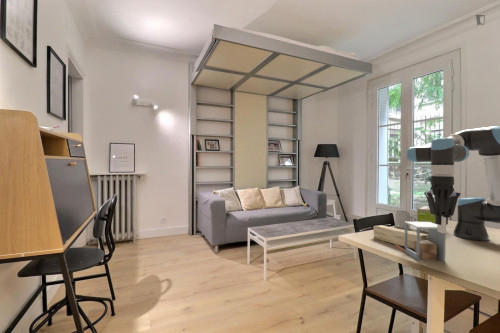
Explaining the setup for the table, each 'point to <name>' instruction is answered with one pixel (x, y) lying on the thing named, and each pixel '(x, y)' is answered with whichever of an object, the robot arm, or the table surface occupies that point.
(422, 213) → the tea box
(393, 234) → the wooden beam
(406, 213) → the mug
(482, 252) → the table surface
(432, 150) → the robot arm
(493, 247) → the table surface
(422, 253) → the block
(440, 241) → the grey open frame stool
